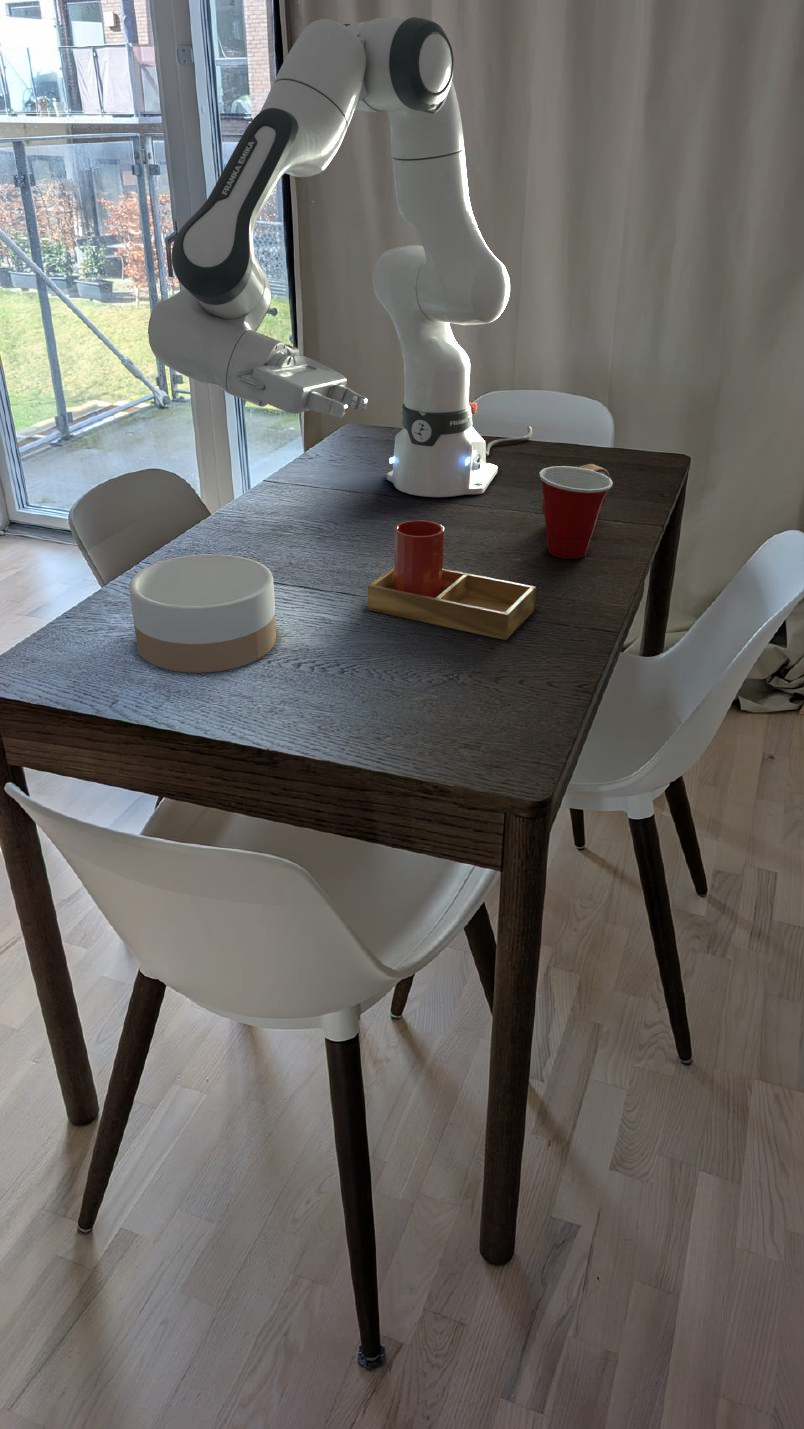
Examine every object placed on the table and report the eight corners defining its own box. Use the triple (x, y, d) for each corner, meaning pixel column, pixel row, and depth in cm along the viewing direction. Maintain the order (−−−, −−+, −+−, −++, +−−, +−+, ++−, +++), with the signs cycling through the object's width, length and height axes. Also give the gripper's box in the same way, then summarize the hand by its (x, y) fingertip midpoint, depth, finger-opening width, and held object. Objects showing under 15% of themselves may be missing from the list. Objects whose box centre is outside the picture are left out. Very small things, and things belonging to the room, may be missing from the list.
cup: (407, 586, 143) (408, 517, 138) (449, 595, 141) (451, 525, 136) (386, 603, 138) (386, 531, 133) (429, 612, 136) (431, 540, 131)
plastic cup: (603, 568, 152) (612, 488, 146) (529, 562, 153) (536, 483, 147) (606, 543, 161) (614, 467, 155) (536, 537, 163) (542, 462, 157)
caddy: (402, 583, 146) (402, 560, 144) (534, 610, 138) (536, 586, 137) (367, 610, 138) (367, 585, 136) (505, 640, 130) (507, 614, 129)
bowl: (155, 611, 137) (148, 551, 133) (284, 614, 136) (281, 554, 132) (120, 671, 122) (111, 606, 118) (265, 675, 121) (261, 610, 117)
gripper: (237, 350, 128) (338, 391, 127) (293, 344, 146) (382, 380, 145) (224, 400, 130) (323, 440, 129) (281, 388, 149) (368, 423, 148)
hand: (355, 408), depth 137 cm, fingers open, 8 cm apart
